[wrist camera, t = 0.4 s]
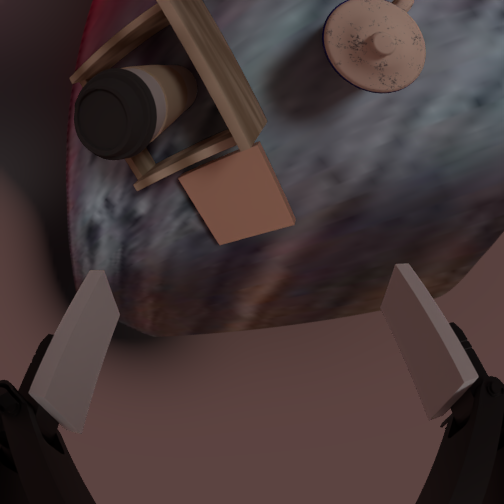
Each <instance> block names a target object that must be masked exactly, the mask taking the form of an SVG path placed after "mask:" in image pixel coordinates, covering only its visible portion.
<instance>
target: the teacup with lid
mask: <svg viewBox="0 0 504 504" xmlns="http://www.w3.org/2000/svg"><path fill="white" fill-rule="evenodd" d="M413 3H414V0H394V1H393V2H392V3H391V2H389V1H386V0H347V1H344V2H343V3H341V4H339V5H338V6H337V7H335V8H334V9H333V10H332V11H331V13H330V14H329V15H328V17H327V19H326V21H325V24H324V27H323V33H322V42H323V49H324V52H325V55H326V57H327V59H328V61H329V63H330V64H331V66H332V67H333V68H334V70H335V71H336V72H337V73H338V74H339V75H340V76H341V77H342V78H343V79H344V80H346V81H347V82H349V83H350V84H352V85H353V86H355V87H357V88H360V89H362V90H365V91H369V92H373V93H391V92H396V91H399V90H401V89H404V88H406V87H407V86H409V85H410V84H411V83H413V82H414V81H415V80H416V78H417V77H418V76H419V74H420V73H421V71H422V69H423V66H424V63H425V57H426V48H425V42H424V39H423V36H422V33H421V31H420V29H419V27H418V26H417V24H416V23H415V21H414V20H413V19H412V18H411V17H410V16H409V15H408V14H407V12H408V11H409V10H410V8H411V7H412V5H413Z"/></svg>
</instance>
